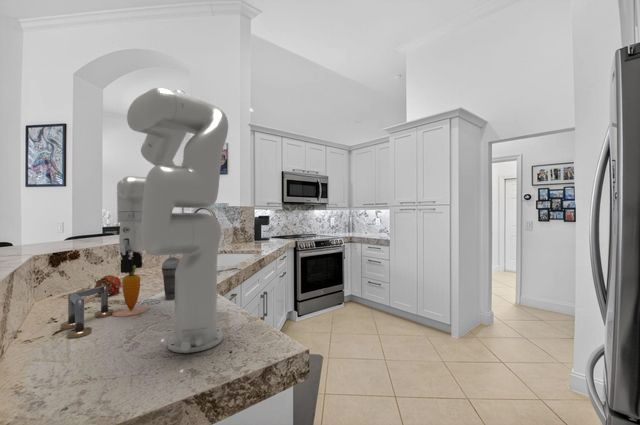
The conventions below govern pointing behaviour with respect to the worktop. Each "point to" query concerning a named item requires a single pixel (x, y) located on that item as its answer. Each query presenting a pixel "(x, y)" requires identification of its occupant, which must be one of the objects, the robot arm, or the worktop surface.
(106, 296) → the grey cabinet handle
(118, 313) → the terracotta coaster
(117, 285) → the dragon fruit
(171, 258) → the beverage cup
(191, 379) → the worktop surface
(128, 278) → the carrot
